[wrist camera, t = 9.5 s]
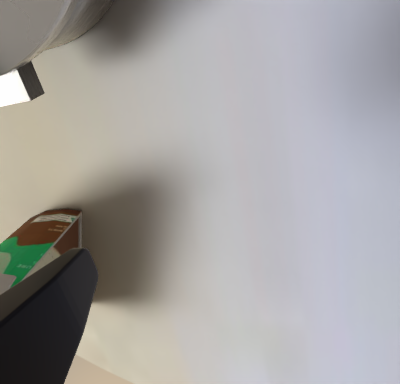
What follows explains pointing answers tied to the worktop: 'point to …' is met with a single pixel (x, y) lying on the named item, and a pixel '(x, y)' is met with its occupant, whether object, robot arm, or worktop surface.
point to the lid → (29, 29)
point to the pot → (75, 27)
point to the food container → (38, 244)
